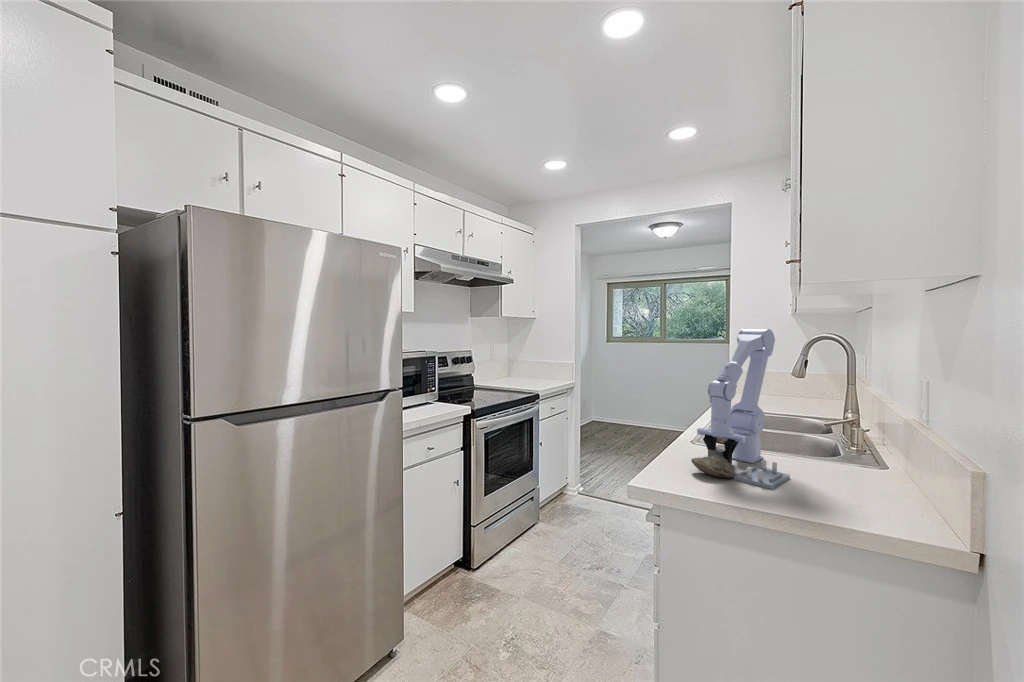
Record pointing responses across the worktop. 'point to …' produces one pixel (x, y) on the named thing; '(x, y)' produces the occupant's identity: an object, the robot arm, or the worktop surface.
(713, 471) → the fossilized seashell
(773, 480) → the grey pegged plate
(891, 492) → the worktop surface
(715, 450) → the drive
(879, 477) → the worktop surface
